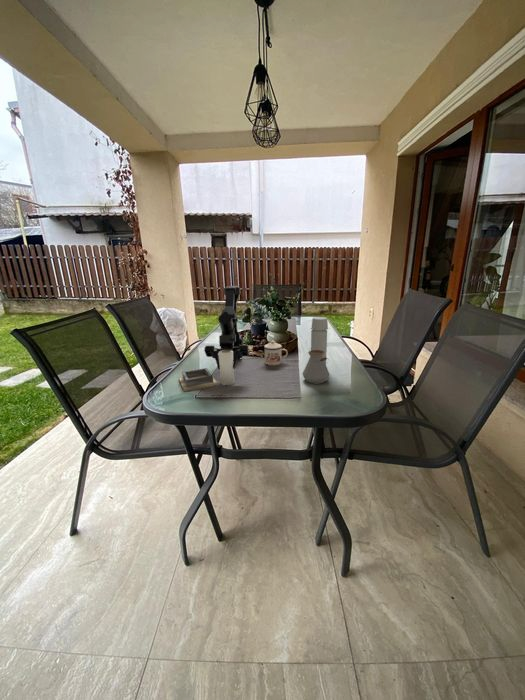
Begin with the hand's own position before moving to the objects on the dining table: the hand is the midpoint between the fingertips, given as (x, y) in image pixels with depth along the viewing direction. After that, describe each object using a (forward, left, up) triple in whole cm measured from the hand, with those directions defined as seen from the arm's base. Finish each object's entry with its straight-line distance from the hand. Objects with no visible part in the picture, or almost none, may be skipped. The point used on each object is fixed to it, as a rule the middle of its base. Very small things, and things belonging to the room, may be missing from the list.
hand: (226, 368), depth 121 cm
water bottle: (+3, +44, -7) cm, 45 cm away
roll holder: (-8, -11, -7) cm, 15 cm away
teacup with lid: (-16, +31, -7) cm, 36 cm away
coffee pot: (+18, +34, -7) cm, 39 cm away
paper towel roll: (-1, +1, -7) cm, 7 cm away
